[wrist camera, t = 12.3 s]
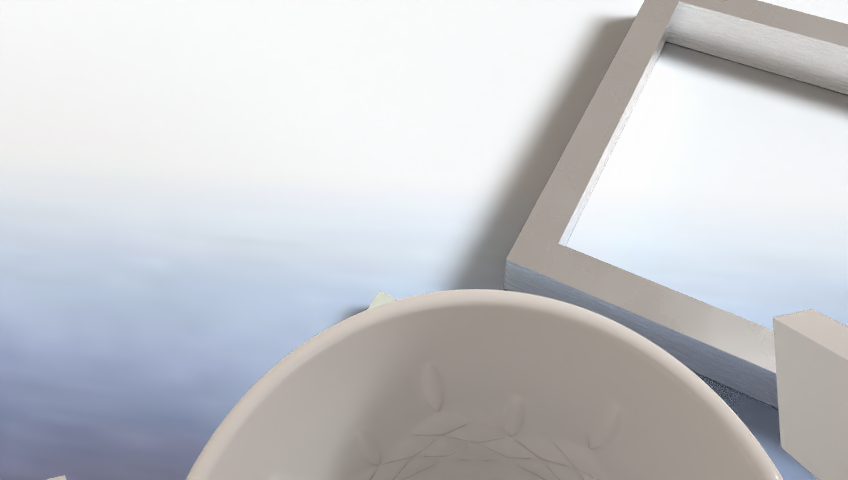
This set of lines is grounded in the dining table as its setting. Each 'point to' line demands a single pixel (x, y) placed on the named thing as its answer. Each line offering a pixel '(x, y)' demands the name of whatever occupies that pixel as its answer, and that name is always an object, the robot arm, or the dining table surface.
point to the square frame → (589, 152)
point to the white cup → (481, 402)
